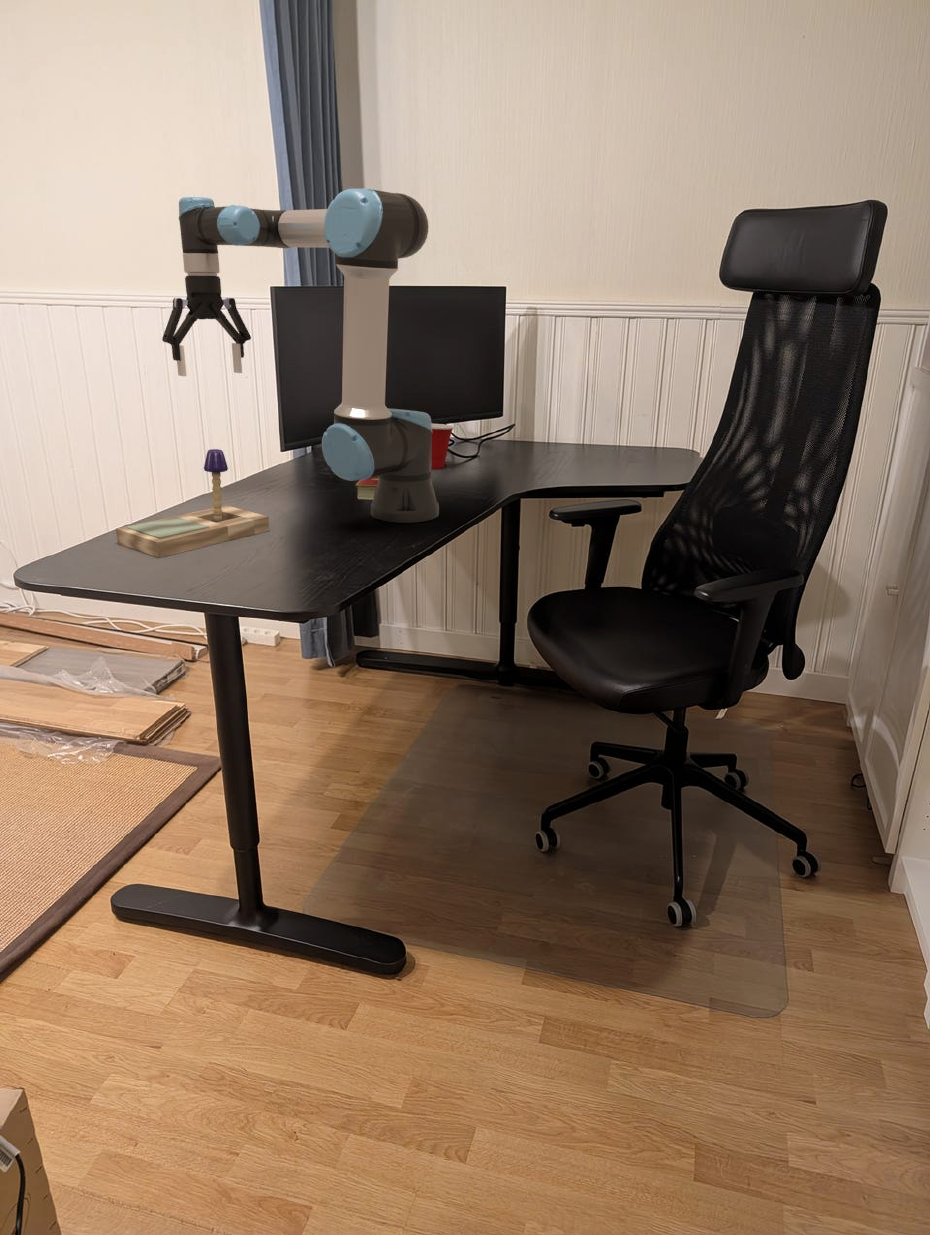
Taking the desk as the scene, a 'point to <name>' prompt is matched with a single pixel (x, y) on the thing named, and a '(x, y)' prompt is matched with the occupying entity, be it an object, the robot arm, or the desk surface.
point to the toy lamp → (216, 478)
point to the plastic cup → (440, 444)
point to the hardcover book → (367, 488)
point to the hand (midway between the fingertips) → (210, 374)
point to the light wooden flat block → (191, 531)
